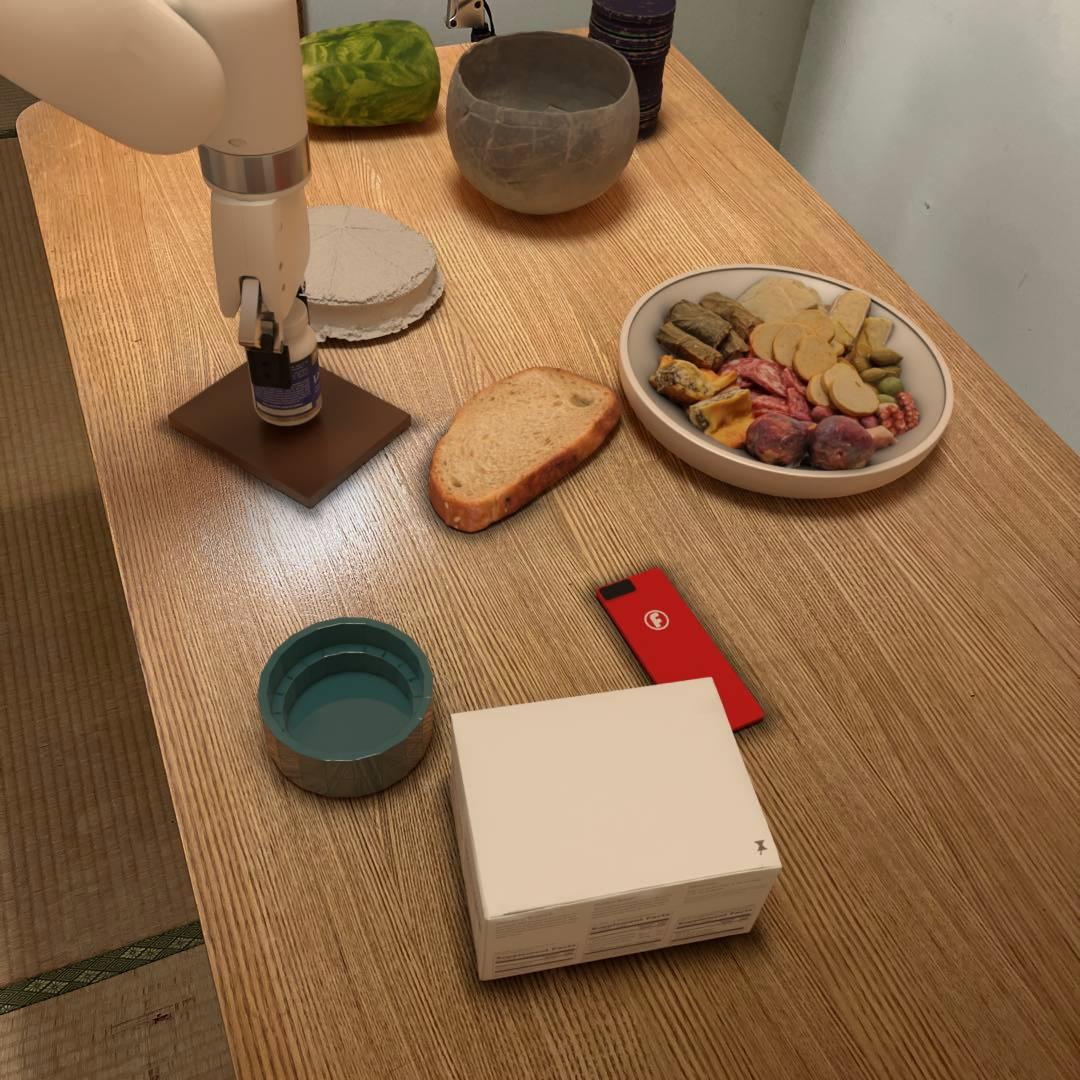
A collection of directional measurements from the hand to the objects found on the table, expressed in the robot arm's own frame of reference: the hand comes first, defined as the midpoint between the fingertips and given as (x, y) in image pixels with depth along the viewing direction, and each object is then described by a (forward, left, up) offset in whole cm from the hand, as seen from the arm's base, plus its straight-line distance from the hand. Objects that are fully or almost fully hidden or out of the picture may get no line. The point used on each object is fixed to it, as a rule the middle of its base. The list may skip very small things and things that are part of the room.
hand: (282, 358), depth 88 cm
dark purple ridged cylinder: (-7, +66, -8) cm, 67 cm away
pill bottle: (0, 0, -5) cm, 5 cm away
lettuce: (-31, +44, -8) cm, 54 cm away
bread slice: (+18, +10, -8) cm, 22 cm away
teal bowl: (+24, -20, -7) cm, 32 cm away
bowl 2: (+32, +30, -8) cm, 45 cm away
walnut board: (0, 0, -7) cm, 7 cm away
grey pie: (-10, +18, -8) cm, 22 cm away
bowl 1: (-5, +45, -8) cm, 46 cm away
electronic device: (+39, -1, -7) cm, 40 cm away
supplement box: (+43, -18, -8) cm, 47 cm away
